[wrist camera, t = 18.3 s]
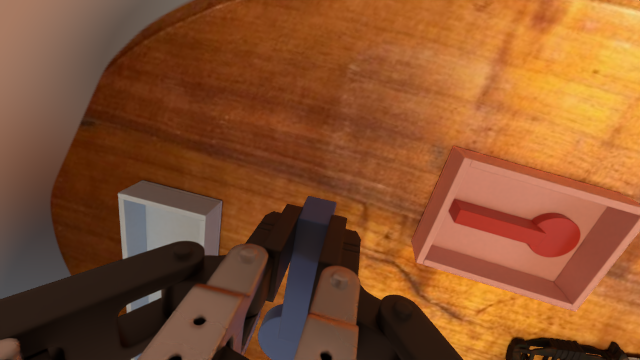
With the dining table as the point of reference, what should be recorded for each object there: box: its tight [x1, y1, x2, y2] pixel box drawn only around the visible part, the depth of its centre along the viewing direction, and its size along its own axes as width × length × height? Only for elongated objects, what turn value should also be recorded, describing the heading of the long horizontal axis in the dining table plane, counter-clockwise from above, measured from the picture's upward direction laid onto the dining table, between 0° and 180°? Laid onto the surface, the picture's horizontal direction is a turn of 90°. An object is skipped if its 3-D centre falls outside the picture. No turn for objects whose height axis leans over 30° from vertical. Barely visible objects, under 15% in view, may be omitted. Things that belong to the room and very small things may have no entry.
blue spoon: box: [258, 196, 336, 360], centre depth 15 cm, size 11×4×2 cm, turn 170°
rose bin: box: [411, 146, 640, 311], centre depth 26 cm, size 14×10×4 cm
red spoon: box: [449, 199, 581, 258], centre depth 26 cm, size 11×4×2 cm, turn 77°
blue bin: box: [118, 180, 222, 360], centre depth 36 cm, size 25×9×4 cm, turn 169°
